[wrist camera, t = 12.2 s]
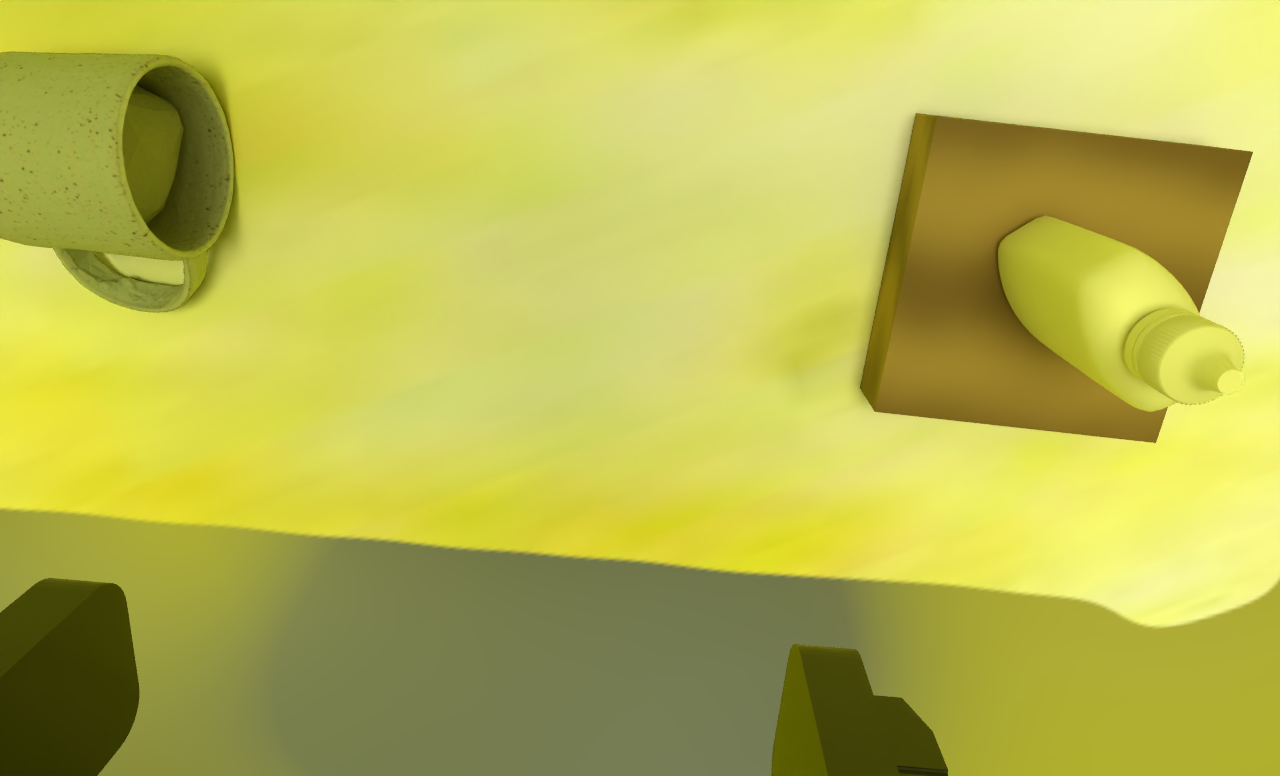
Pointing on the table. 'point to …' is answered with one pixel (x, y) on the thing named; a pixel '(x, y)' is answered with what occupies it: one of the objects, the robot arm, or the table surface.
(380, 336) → the table surface
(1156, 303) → the squeeze bottle
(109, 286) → the ceramic mug
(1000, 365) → the walnut plinth
